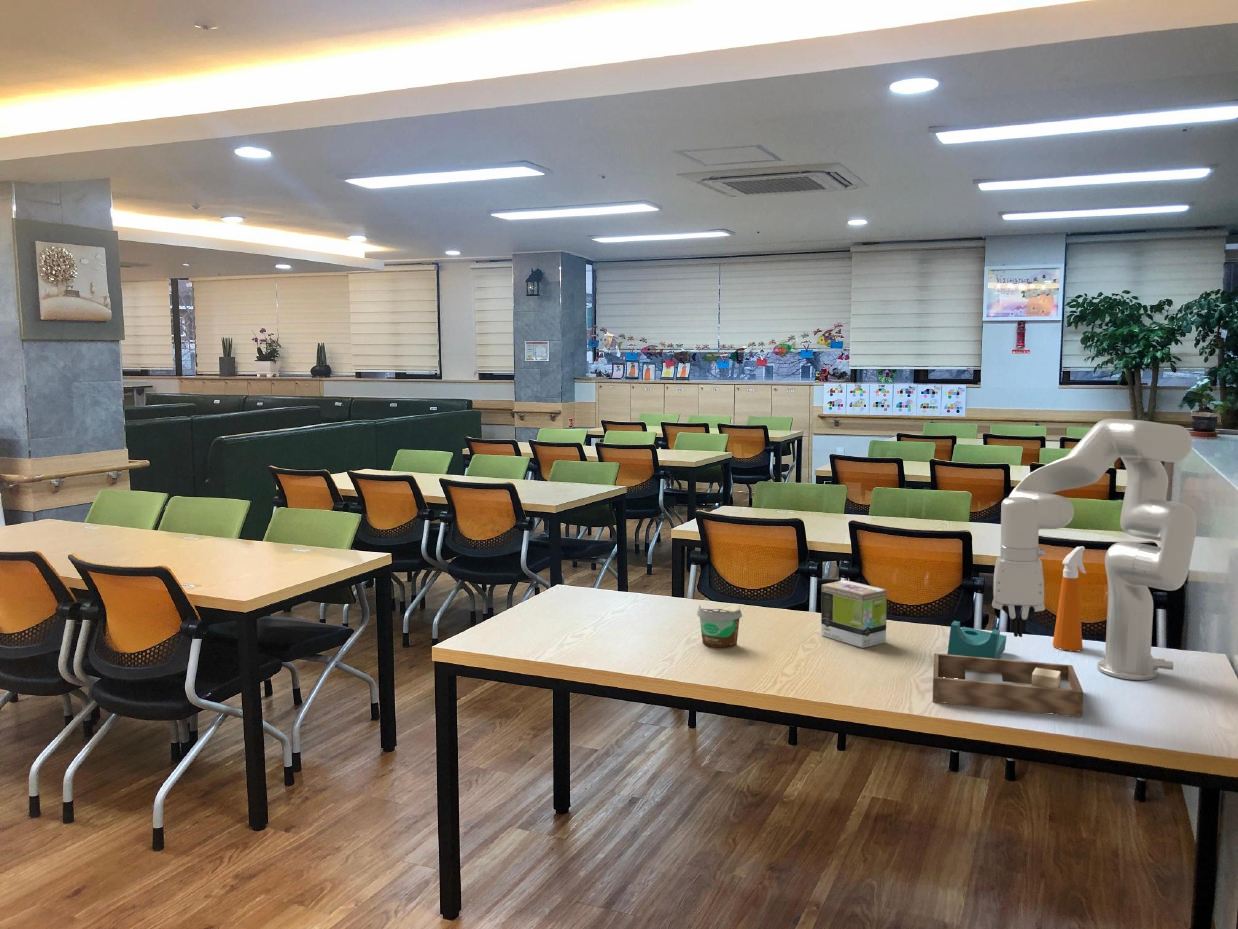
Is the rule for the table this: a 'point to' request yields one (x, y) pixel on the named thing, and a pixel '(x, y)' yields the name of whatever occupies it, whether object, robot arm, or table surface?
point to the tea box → (854, 613)
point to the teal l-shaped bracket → (975, 642)
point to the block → (1046, 678)
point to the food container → (719, 627)
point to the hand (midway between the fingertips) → (1017, 634)
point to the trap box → (1004, 685)
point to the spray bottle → (1070, 604)
